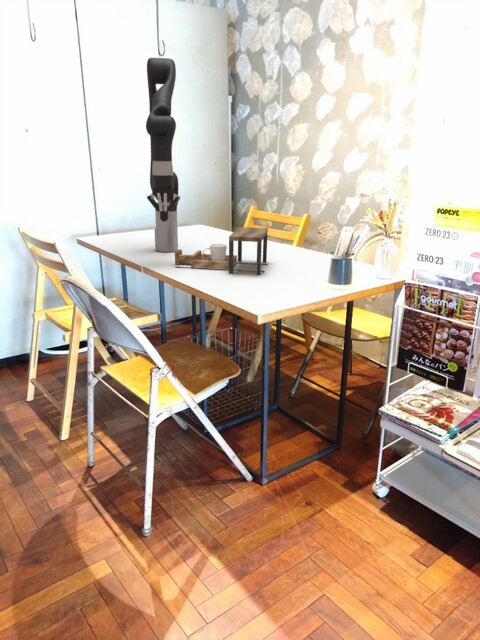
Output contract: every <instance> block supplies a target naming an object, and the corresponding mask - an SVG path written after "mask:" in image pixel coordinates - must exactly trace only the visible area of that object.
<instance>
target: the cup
mask: <svg viewBox="0 0 480 640" xmlns="http://www.w3.org/2000/svg"><path fill="white" fill-rule="evenodd" d="M227 248H228V244H226V243H223V242H221V243H219V242H218V243H217V242H216V243H215V242H214V243H210V244H209V247H205V248H204V249H202V251H201V254H202V259H203V254H205V253H204V252H205V251H207V250H209V251H210V252H209V253H210V254H211V258H212V261H220V262H224V260H225V256H226V255H227V250H228V249H227ZM203 261H205V260H204V259H203Z"/></svg>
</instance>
